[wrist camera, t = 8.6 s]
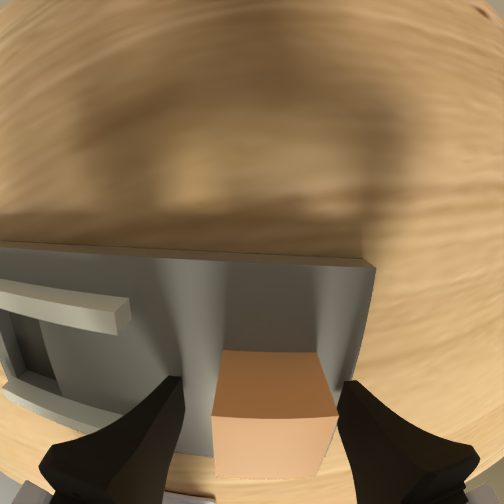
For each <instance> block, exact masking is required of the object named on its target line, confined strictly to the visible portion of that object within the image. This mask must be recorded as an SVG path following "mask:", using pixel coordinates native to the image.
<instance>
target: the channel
mask: <svg viewBox="0 0 504 504" xmlns="http://www.w3.org/2000/svg"><path fill="white" fill-rule="evenodd" d="M375 273H376V267H374V266H373V265H371V264H370V263H368V262H367V261H366V260H364V259H355V258H334V257H313V256H292V255H271V254H250V253H230V252H209V251H189V250H169V249H149V248H129V247H109V246H89V245H69V244H50V243H31V242H12V241H0V361H1V364H2V367H3V369H4V371H5V374H6V376H7V379H8V382H7V383H6V384H5V385H4V386H3V387H2V389H3V391H4V393H5V395H6V397H7V399H9V400H10V401H12V402H14V403H16V404H18V405H20V406H22V407H24V408H26V409H28V410H30V411H32V412H34V413H36V414H38V415H41V416H43V417H45V418H47V419H50V420H52V421H54V422H57V423H59V424H62V425H64V426H67V427H69V428H72V429H75V430H77V431H80V432H83V433H86V434H91V433H94V432H96V431H98V430H100V429H102V428H104V427H106V426H108V425H109V424H111V423H113V422H115V421H116V420H118V419H119V418H121V417H122V416H124V415H125V414H126V413H128V412H129V411H130V410H132V409H133V408H134V407H135V406H137V405H138V404H139V403H140V402H141V401H143V400H144V399H145V398H146V397H147V396H148V395H149V394H150V393H151V392H152V391H153V390H154V389H155V388H156V387H157V386H158V385H159V384H160V383H161V382H162V381H163V380H164V379H165V378H166V377H167V376H169V375H170V376H178V377H182V382H183V391H184V399H185V408H186V410H185V415H184V421H183V426H182V429H181V432H180V435H179V438H178V441H177V444H176V447H175V450H174V452H176V453H182V454H189V455H197V456H205V457H214V450H213V436H212V420H211V415H212V409H213V403H214V397H215V392H216V386H217V380H218V375H219V369H220V363H221V358H222V352H223V350H231V351H251V352H290V353H307V352H317V355H318V357H319V360H320V363H321V366H322V368H323V371H324V374H325V377H326V380H327V383H328V385H329V388H330V391H331V394H332V397H333V400H334V403H335V406H336V407H337V404H338V401H339V398H340V394H341V391H342V387H343V384H344V381H351V380H352V377H353V373H354V370H355V366H356V362H357V359H358V355H359V351H360V347H361V343H362V339H363V334H364V330H365V325H366V321H367V316H368V311H369V306H370V301H371V296H372V290H373V285H374V279H375ZM336 427H337V423H336V426H335V429H334V432H335V430H336ZM334 432H333V435H334ZM333 435H332V437H331V440H330V443H331V441H332V438H333ZM330 443H329V445H328V448H329V446H330ZM328 448H327V451H328ZM327 451H326V453H327ZM326 453H325V456H326ZM325 456H324V457H325Z"/></svg>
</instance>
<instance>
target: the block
mask: <svg viewBox="0 0 504 504" xmlns="http://www.w3.org/2000/svg"><path fill="white" fill-rule="evenodd" d="M338 418H339V414H338V411H337V409H336V406H335V403H334V400H333V397H332V394H331V391H330V388H329V385H328V383H327V380H326V377H325V374H324V371H323V368H322V366H321V363H320V360H319V357H318V355H317V352H307V353H290V352H251V351H231V350H223V352H222V358H221V363H220V369H219V375H218V380H217V386H216V392H215V397H214V403H213V409H212V415H211V420H212V436H213V450H214V463H215V475H216V477H218V478H231V479H258V480H272V479H299V478H312V477H316V475H317V473H318V470H319V468H320V466H321V463H322V461H323V458H324V456H325V453H326V451H327V448H328V445H329V443H330V440H331V437H332V435H333V432H334V429H335V426H336V423H337V420H338Z"/></svg>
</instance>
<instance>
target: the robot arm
mask: <svg viewBox="0 0 504 504" xmlns="http://www.w3.org/2000/svg"><path fill="white" fill-rule="evenodd" d="M336 409H337V411H338V414H339V418H338V420H337V426H338V431H339V434H340V437H341V440H342V443H343V446H344V449H345V452H346V454H347V457H348V460H349V463H350V466H351V470H352V474H353V479H354V485H355V491H356V498H357V504H502V503H501V502H500V500H499V498H498V497H497V495H496V493H495V492H494V490H493V488H492V487H491V485H490V483H489V482H488V481H486V482H484V483H482V484H481V485H479V486H477V487H475V488H474V489H472V490H470V491H469V492H468V493H466V494H465V493H464V491H463V490H464V489H465V488H466V485H465V483H464V481H465V480H466V479H467V478H468V476H469V475H470V474H471V473H472V472H473V471H474V470H475V468H476V467H477V466H478V464H479V461H480V457H479V455H478V454H477V452H476V451H475V450H474V448H473V447H472V445H467V444H462V443H457V442H453V441H450V440H447V439H443V438H441V437H438V436H435V435H433V434H431V433H428V432H426V431H424V430H422V429H420V428H418V427H416V426H414V425H413V424H411V423H409V422H408V421H406V420H404V419H403V418H401V417H400V416H399V415H397V414H396V413H394V412H393V411H392V410H390V409H389V408H388V407H387V406H385V405H384V404H383V403H382V402H381V401H379V400H378V399H377V398H376V397H375V396H374V395H373V394H372V393H370V392H369V391H368V390H367V389H366V388H365V387H364V386H363V385H362V384H360V383H359V382H358V381H357V380H353V381H344V384H343V387H342V391H341V394H340V398H339V401H338V404H337V407H336ZM185 410H186V408H185V399H184V391H183V382H182V377H178V376H170V375H169V376H167V377H166V378H165V379H164V380H163V381H162V382H161V383H160V384H159V385H158V386H157V387H156V388H155V389H154V390H153V391H152V392H151V393H150V394H149V395H148V396H147V397H146V398H145V399H144V400H143V401H141V402H140V403H139V404H138V405H137V406H135V407H134V408H133V409H132V410H130V411H129V412H128V413H126V414H125V415H124V416H122V417H121V418H119V419H118V420H116V421H115V422H113V423H111V424H109V425H108V426H106V427H104V428H102V429H100V430H98V431H96V432H94V433H91V434H89V435H86V436H83V437H81V438H78V439H75V440H71V441H67V442H63V443H59V444H54V445H52V446H51V447H50V449H49V450H48V452H47V453H46V455H45V456H44V458H43V460H42V461H41V463H40V464H39V466H38V467H39V470H40V472H41V474H42V475H43V477H44V478H45V479H46V480H47V482H48V483H49V484H50V485H51V486H52V487H53V489H54V490H55V493H54V495H51V494H50V493H49V492H47V491H45V490H44V489H42V488H40V487H38V486H37V485H35V484H33V483H31V482H30V481H28V480H25V482H24V484H23V485H22V487H21V489H20V490H19V492H18V493H17V495H16V497H15V499H14V500H13V502H12V504H216V501H215V500H214V499H211V498H203V497H195V496H188V495H182V494H176V493H170V492H165V491H164V489H165V483H166V478H167V473H168V469H169V465H170V462H171V459H172V456H173V453H174V450H175V447H176V444H177V441H178V438H179V435H180V432H181V429H182V426H183V421H184V415H185Z"/></svg>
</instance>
